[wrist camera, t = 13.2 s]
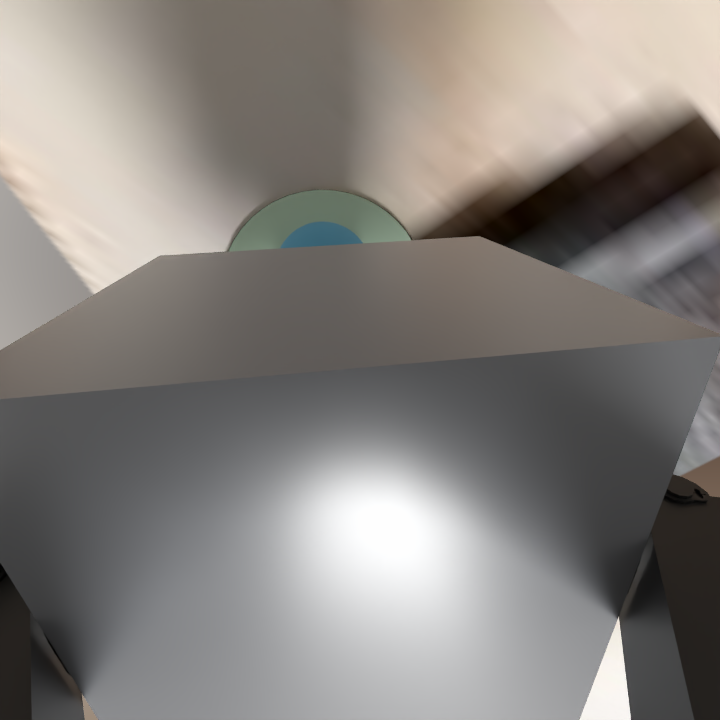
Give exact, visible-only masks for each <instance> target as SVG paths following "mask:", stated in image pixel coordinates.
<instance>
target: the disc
mask: <svg viewBox="0 0 720 720" xmlns="http://www.w3.org/2000/svg"><path fill="white" fill-rule="evenodd" d="M313 222H332V223H336V224H339V225H342V226H344V227H346V228H348V229H349V230H351V231H352V232H353V233H355V234H356V235H357V236H358V238H359V239H360V240H361V241H362V242H363V243H378V242H394V241H410V240H411V239H410V237H409V236H408V234H407V232H406V231H405V230H404V229H403V227H402V226H401V225H400V224H399V223H398V222H397V220H395V219H394V218H393V217H392V216H391V215H390V214H389V213H387V212H386V211H385V210H383V209H382V208H380V207H379V206H377V205H376V204H374V203H372V202H370V201H368V200H366V199H364V198H362V197H359V196H356V195H353V194H350V193H347V192H340V191H334V190H312V191H303V192H299V193H295V194H292V195H288V196H286V197H283V198H281V199H279V200H276V201H274V202H273V203H271V204H269V205H268V206H266V207H265V208H263V209H262V210H260V211H259V212H258V213H257V214H256V215H254V216H253V217H252V218H251V219H250V220H249V221H248V222H247V223H246V224H245V226H244V227H243V228H242V229H241V230H240V232H239V233H238V235H237V236H236V238H235V239H234V241H233V243H232V245H231V247H230V249H229V251H228V252H230V251H246V250H263V249H279V248H280V247H281V245H282V244H283V242H284V241H285V240H286V238H287V237H288V236H289V235H290V234H291V233H292V232H294V231H295V230H296V229H298V228H300V227H302V226H304V225H306V224H309V223H313Z"/></svg>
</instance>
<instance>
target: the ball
mask: <svg viewBox="0 0 720 720" xmlns="http://www.w3.org/2000/svg"><path fill="white" fill-rule="evenodd" d="M361 243H363V242H362V241H361V240H360V239H359V238H358V236H357V235H356V234H355V233H353V232H352V231H351V230H349V229H348V228H346V227H344V226H342V225H339V224H336V223H332V222H313V223H309V224H306V225H304V226H302V227H300V228H298V229H296V230H295V231H294V232H292V233H291V234H290V235H289V236H288V237H287V238H286V240H285V241H284V242H283V244H282V245H281V247H280V248H296V247H312V246H328V245H345V244H361Z"/></svg>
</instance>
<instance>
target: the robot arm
mask: <svg viewBox="0 0 720 720" xmlns="http://www.w3.org/2000/svg"><path fill="white" fill-rule="evenodd" d="M619 620H620V628H621V637H622V645H623V654H624V662H625V671H626V679H627V688H628V696H629V705H630V713H631V720H720V497H711V496H709V494H708V493H707V492H706V491H705V490H703V489H702V488H701V487H699V486H698V485H697V484H695V483H693V482H691V481H689V480H687V479H685V478H683V477H680V476H676V475H673V474H672V477H671V480H670V482H669V485H668V488H667V490H666V493H665V496H664V498H663V501H662V503H661V506H660V509H659V511H658V514H657V517H656V519H655V522H654V524H653V527H652V530H651V532H650V535H649V538H648V540H647V543H646V545H645V548H644V551H643V553H642V556H641V559H640V561H639V564H638V567H637V569H636V572H635V574H634V577H633V580H632V582H631V585H630V588H629V590H628V593H627V595H626V598H625V601H624V603H623V606H622V609H621V611H620V614H619ZM0 720H84V711H83V702H82V693H81V691H80V689H79V688H78V686H77V685H76V683H75V681H74V680H73V678H72V677H71V675H70V673H69V672H68V670H67V669H66V667H65V665H64V664H63V662H62V661H61V659H60V657H59V656H58V654H57V653H56V651H55V649H54V648H53V646H52V645H51V643H50V641H49V640H48V638H47V637H46V635H45V633H44V632H43V630H42V629H41V627H40V625H39V624H38V622H37V621H36V619H35V617H34V616H33V614H32V613H31V611H30V609H29V608H28V606H27V605H26V603H25V601H24V600H23V598H22V597H21V595H20V593H19V592H18V590H17V589H16V587H15V585H14V584H13V582H12V581H11V579H10V577H9V576H8V574H7V573H6V571H5V569H4V568H3V566H2V565H1V563H0Z"/></svg>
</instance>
